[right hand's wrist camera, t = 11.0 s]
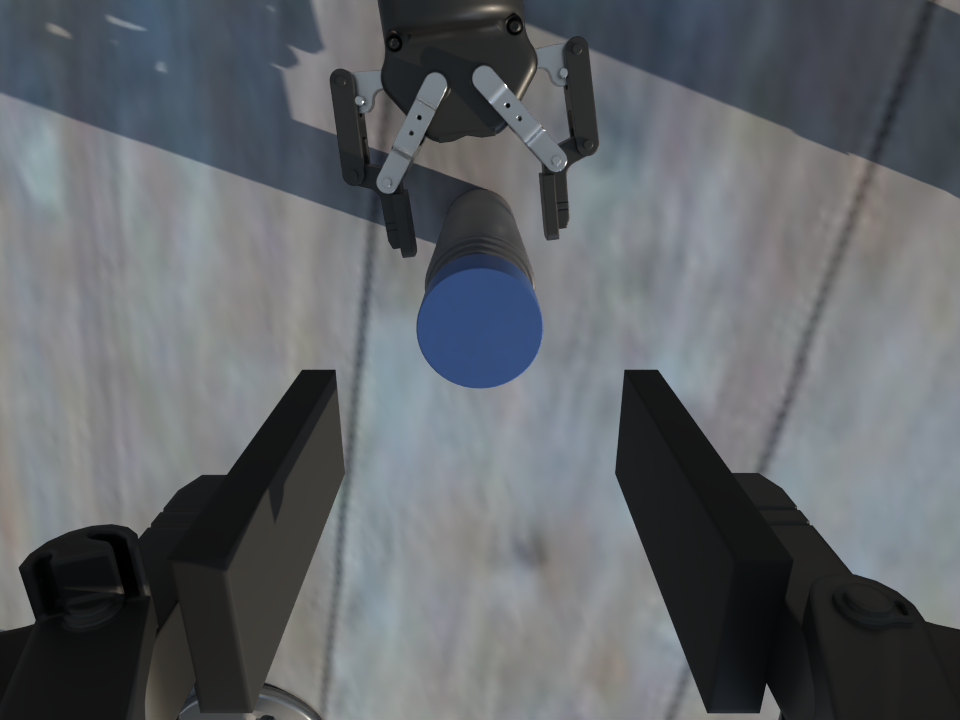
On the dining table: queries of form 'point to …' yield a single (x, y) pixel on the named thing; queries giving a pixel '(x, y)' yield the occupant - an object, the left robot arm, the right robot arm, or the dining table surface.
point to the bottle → (480, 233)
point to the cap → (479, 322)
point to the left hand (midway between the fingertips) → (481, 246)
